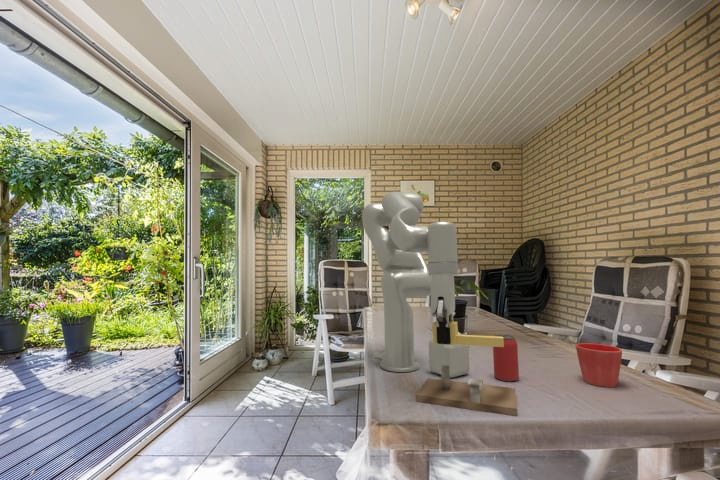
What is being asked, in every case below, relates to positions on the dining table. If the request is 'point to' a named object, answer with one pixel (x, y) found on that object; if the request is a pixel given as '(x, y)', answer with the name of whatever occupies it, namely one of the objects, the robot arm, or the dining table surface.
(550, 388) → the dining table surface
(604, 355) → the flower pot
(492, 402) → the bracket base
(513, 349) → the beer can
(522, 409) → the dining table surface
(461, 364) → the soap bottle
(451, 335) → the link
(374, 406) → the dining table surface
